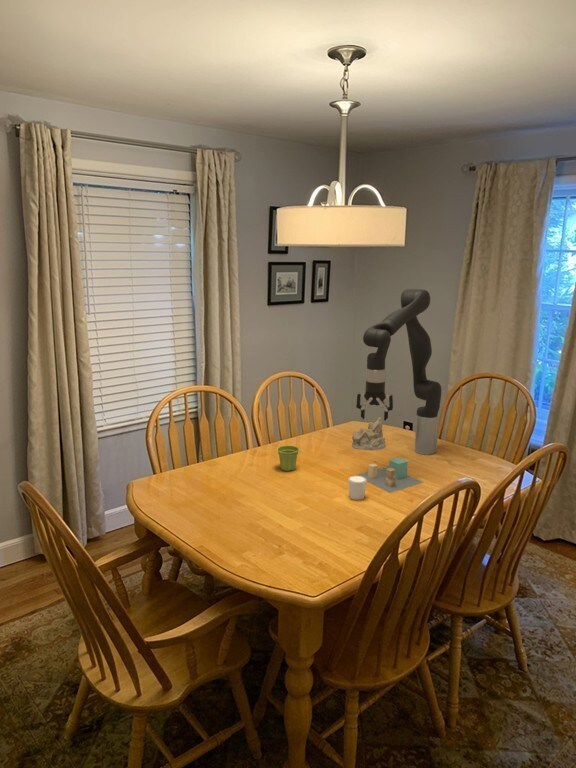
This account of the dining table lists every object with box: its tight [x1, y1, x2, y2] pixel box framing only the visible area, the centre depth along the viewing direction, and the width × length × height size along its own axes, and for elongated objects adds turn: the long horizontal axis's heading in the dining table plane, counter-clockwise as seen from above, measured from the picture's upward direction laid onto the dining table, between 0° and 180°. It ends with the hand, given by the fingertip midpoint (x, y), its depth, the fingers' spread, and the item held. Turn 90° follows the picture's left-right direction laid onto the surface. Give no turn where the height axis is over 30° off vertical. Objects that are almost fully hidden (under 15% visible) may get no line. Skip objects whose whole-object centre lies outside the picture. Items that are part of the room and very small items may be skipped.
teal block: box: [388, 456, 409, 480], centre depth 225 cm, size 5×5×7 cm
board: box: [354, 463, 424, 494], centre depth 222 cm, size 18×20×6 cm
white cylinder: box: [347, 475, 367, 501], centre depth 208 cm, size 7×7×7 cm
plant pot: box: [276, 445, 300, 472], centre depth 235 cm, size 9×9×9 cm
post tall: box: [385, 468, 396, 487], centre depth 216 cm, size 3×3×6 cm
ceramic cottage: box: [351, 416, 386, 451], centre depth 264 cm, size 16×16×15 cm
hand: (374, 419), depth 224 cm, fingers open, 8 cm apart
